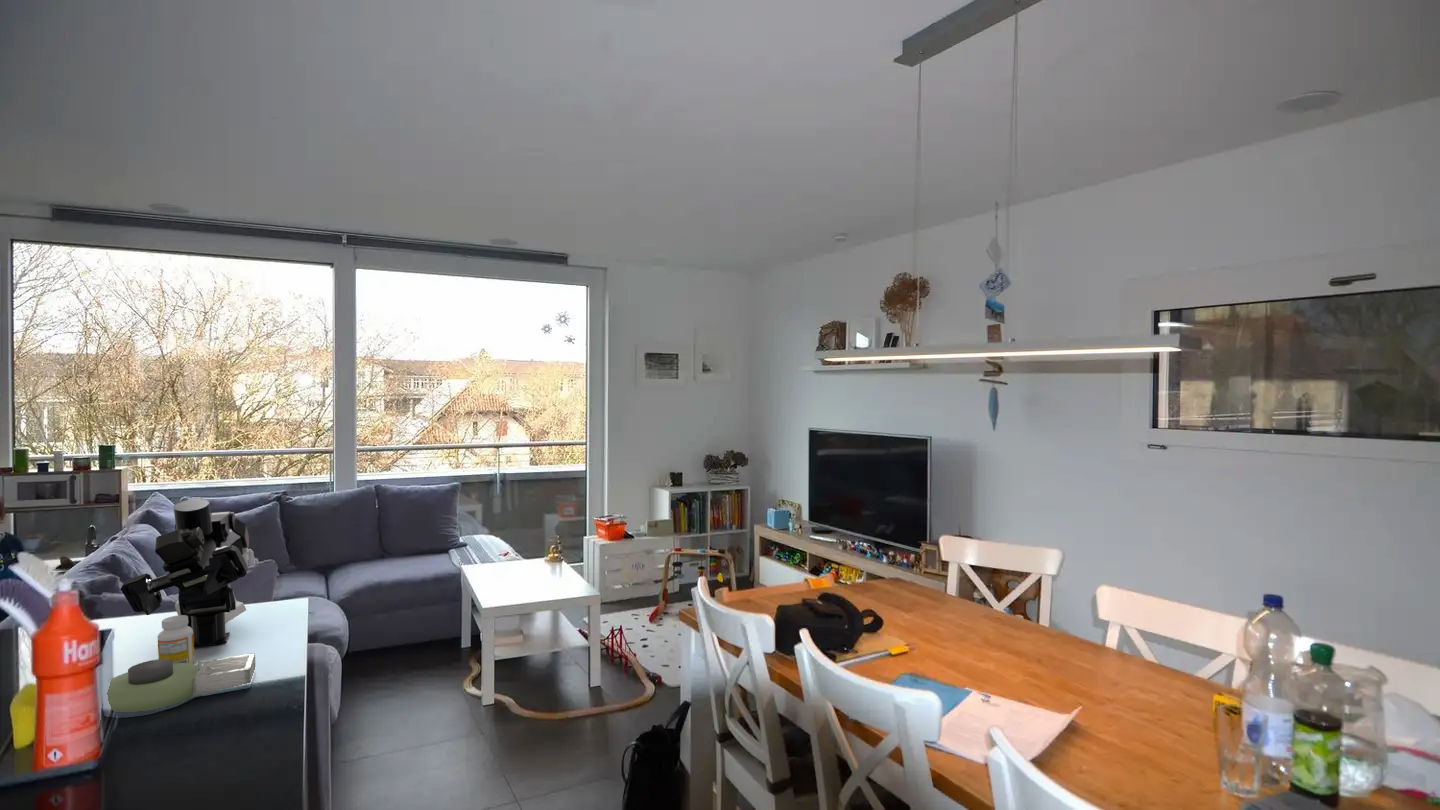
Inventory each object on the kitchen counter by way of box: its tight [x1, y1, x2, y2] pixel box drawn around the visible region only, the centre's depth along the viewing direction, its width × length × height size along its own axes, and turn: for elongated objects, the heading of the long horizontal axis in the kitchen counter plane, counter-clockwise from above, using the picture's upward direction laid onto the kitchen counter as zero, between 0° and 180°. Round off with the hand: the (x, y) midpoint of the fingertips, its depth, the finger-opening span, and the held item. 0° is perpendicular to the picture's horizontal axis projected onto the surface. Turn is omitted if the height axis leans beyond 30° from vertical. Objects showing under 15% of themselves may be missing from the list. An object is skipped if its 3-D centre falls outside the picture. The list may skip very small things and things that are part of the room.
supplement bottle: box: [157, 614, 196, 665], centre depth 140 cm, size 5×5×10 cm
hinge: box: [174, 597, 247, 628], centre depth 168 cm, size 17×5×10 cm, turn 8°
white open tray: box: [192, 652, 256, 695], centre depth 132 cm, size 9×9×4 cm
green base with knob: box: [107, 658, 198, 712], centre depth 126 cm, size 13×13×6 cm
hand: (176, 602), depth 132 cm, fingers open, 9 cm apart
